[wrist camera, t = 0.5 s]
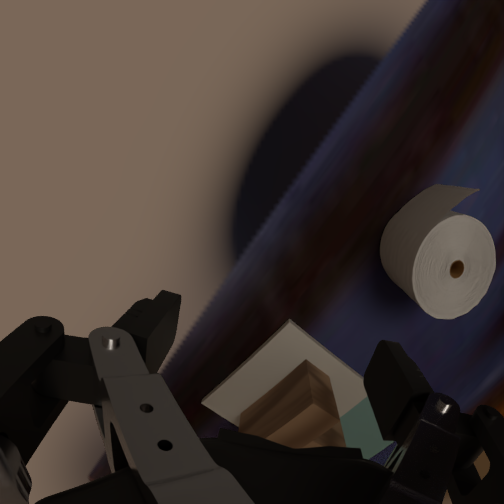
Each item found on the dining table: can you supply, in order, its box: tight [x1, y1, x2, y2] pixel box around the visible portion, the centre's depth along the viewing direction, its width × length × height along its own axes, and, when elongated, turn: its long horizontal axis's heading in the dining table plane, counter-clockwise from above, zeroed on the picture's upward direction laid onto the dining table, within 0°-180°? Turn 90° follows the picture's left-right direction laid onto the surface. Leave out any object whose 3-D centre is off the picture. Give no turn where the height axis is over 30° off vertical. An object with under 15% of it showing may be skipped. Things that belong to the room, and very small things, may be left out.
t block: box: [238, 359, 346, 448], centre depth 37 cm, size 12×13×9 cm
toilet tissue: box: [380, 184, 496, 319], centre depth 31 cm, size 11×12×10 cm
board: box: [201, 319, 394, 459], centre depth 42 cm, size 30×18×1 cm, turn 49°
